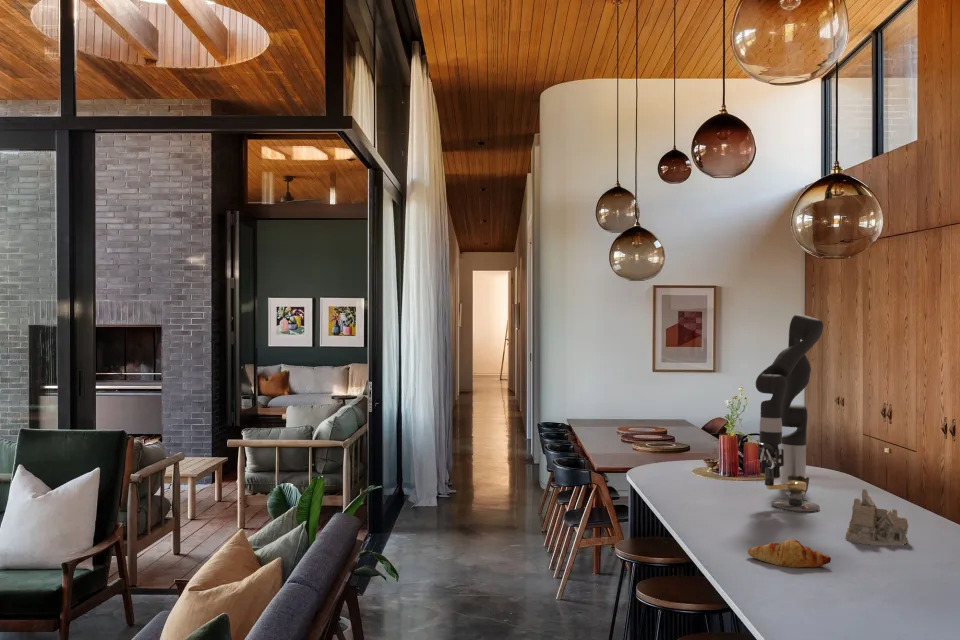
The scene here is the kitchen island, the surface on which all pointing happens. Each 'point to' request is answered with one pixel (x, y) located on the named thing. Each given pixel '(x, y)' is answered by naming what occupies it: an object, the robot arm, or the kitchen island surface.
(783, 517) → the kitchen island surface
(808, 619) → the kitchen island surface
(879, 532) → the ceramic cottage
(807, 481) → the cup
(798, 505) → the post base
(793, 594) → the kitchen island surface
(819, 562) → the croissant
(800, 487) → the gold lever handle
